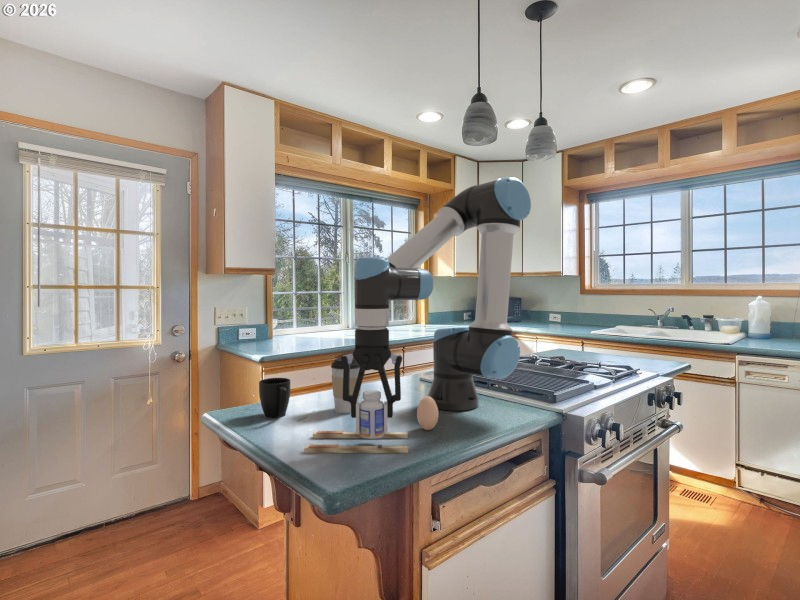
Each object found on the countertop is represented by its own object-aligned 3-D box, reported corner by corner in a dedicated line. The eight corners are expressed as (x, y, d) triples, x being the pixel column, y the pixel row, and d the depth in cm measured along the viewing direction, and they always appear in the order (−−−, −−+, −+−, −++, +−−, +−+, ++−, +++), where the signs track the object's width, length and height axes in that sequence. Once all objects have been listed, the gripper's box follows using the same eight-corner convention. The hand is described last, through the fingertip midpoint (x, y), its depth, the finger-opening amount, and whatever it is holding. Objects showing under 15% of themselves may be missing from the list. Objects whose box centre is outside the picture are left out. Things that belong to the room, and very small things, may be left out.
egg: (412, 428, 106) (412, 395, 105) (428, 424, 109) (428, 392, 108) (426, 434, 101) (426, 400, 101) (442, 430, 105) (442, 396, 104)
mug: (267, 425, 108) (266, 388, 108) (256, 413, 118) (255, 379, 118) (298, 420, 112) (298, 384, 112) (285, 409, 122) (285, 376, 122)
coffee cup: (324, 412, 120) (324, 358, 119) (341, 404, 128) (340, 354, 128) (353, 415, 116) (353, 361, 116) (368, 407, 125) (368, 356, 124)
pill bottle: (383, 430, 98) (383, 388, 98) (385, 439, 93) (385, 394, 92) (359, 431, 97) (359, 389, 97) (360, 440, 92) (360, 395, 92)
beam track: (407, 436, 100) (407, 431, 100) (408, 452, 90) (408, 446, 90) (313, 436, 100) (313, 430, 100) (304, 452, 90) (304, 446, 90)
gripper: (413, 326, 98) (413, 426, 99) (332, 326, 98) (333, 426, 99) (414, 329, 91) (414, 437, 91) (327, 329, 91) (327, 437, 91)
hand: (372, 431), depth 95 cm, fingers closed on pill bottle, 5 cm apart
